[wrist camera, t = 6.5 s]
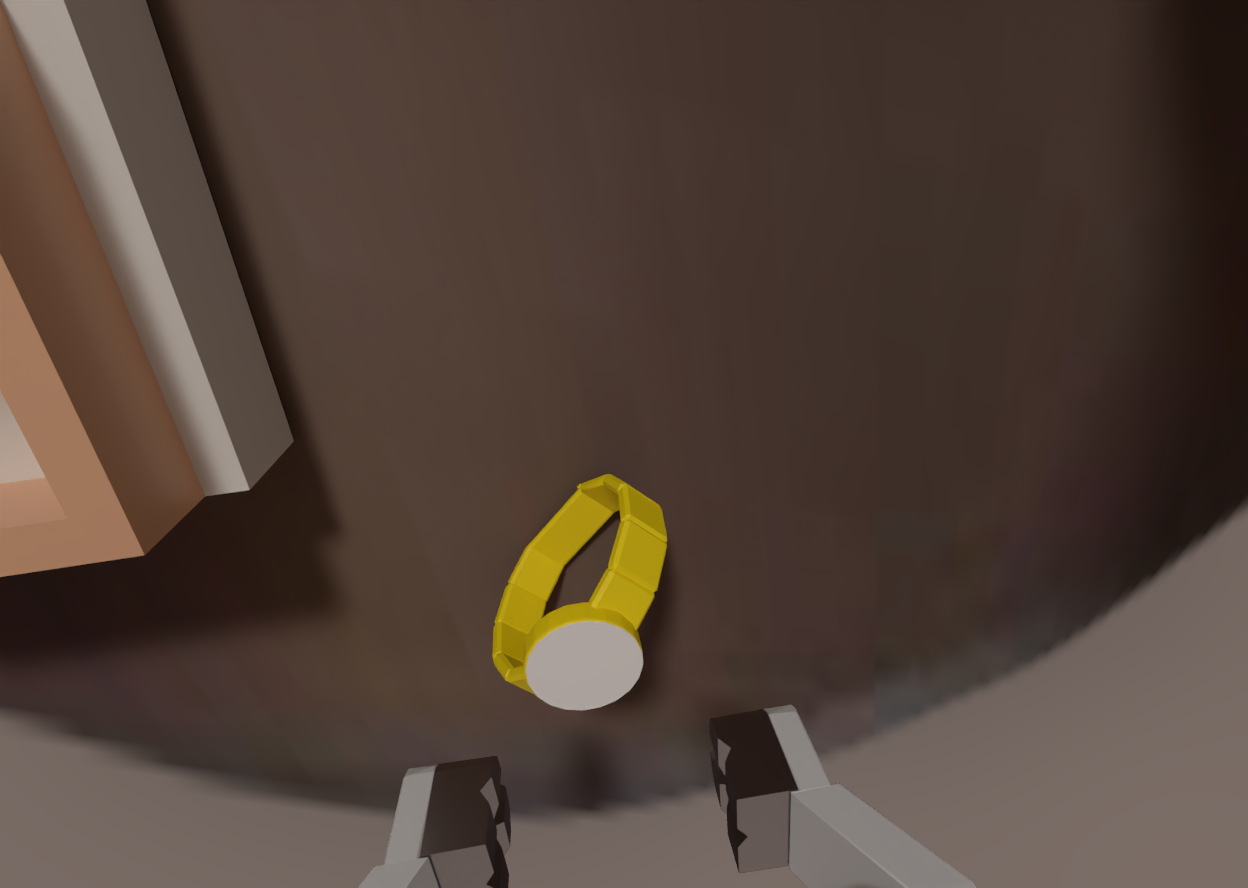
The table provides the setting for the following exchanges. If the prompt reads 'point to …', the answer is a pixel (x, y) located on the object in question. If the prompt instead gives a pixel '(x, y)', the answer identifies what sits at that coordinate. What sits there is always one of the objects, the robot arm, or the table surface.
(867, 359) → the table surface
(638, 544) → the watch
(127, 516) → the motor
